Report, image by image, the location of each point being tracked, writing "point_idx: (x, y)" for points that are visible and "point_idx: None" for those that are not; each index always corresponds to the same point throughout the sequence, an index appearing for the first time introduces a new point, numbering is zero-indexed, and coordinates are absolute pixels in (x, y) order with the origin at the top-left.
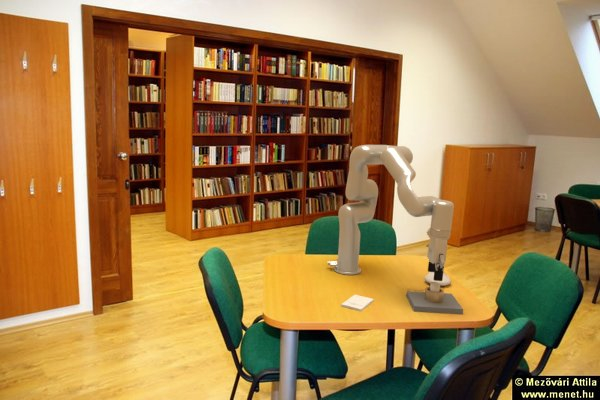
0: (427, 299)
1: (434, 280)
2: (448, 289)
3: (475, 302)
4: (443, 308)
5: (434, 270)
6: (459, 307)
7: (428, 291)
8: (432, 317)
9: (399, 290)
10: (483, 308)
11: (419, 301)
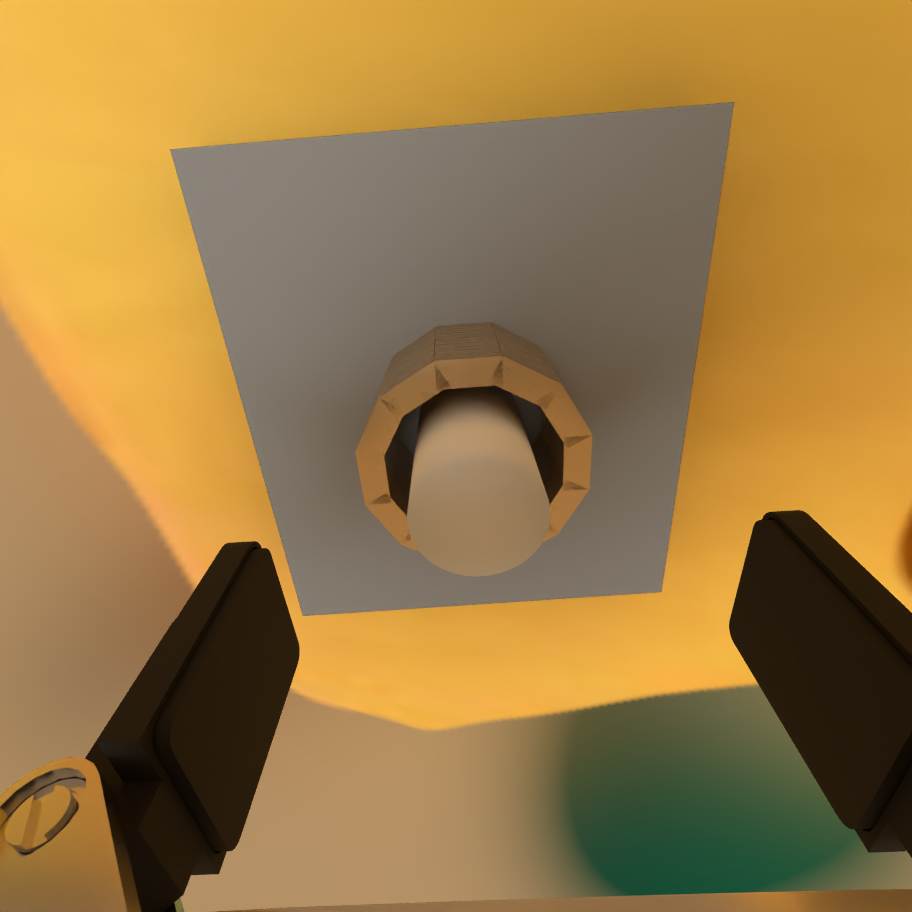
0: (406, 349)
1: (232, 548)
2: None
3: (576, 690)
4: (264, 473)
5: (746, 634)
6: (330, 597)
7: (396, 385)
8: (125, 343)
9: (905, 26)
10: (471, 710)
11: (363, 245)
